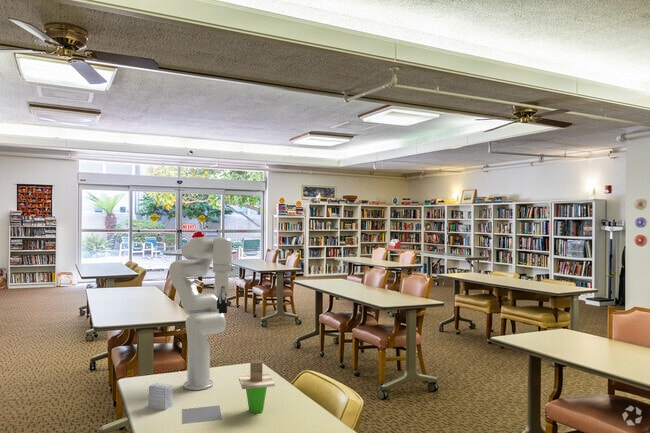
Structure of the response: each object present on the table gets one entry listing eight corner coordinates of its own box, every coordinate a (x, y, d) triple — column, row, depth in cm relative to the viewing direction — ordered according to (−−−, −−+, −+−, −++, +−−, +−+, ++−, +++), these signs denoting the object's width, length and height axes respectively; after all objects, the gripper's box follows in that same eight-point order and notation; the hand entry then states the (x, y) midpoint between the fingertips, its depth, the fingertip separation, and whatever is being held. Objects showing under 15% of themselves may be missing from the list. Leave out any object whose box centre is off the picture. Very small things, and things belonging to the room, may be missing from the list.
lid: (238, 379, 187) (238, 358, 187) (269, 376, 191) (269, 356, 191) (242, 389, 176) (242, 367, 176) (274, 386, 179) (274, 364, 179)
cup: (263, 417, 178) (263, 387, 178) (240, 415, 180) (240, 385, 180) (271, 408, 187) (271, 379, 187) (249, 406, 188) (249, 378, 189)
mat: (182, 410, 184) (182, 409, 184) (219, 406, 188) (219, 405, 188) (182, 425, 171) (182, 423, 171) (222, 420, 175) (222, 419, 175)
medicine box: (172, 407, 187) (172, 384, 187) (165, 411, 183) (165, 388, 183) (155, 404, 190) (156, 382, 190) (148, 408, 186) (148, 385, 186)
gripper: (211, 266, 201) (210, 307, 201) (214, 270, 185) (213, 315, 184) (229, 266, 203) (229, 307, 203) (233, 270, 187) (233, 314, 186)
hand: (221, 311), depth 194 cm, fingers open, 9 cm apart
